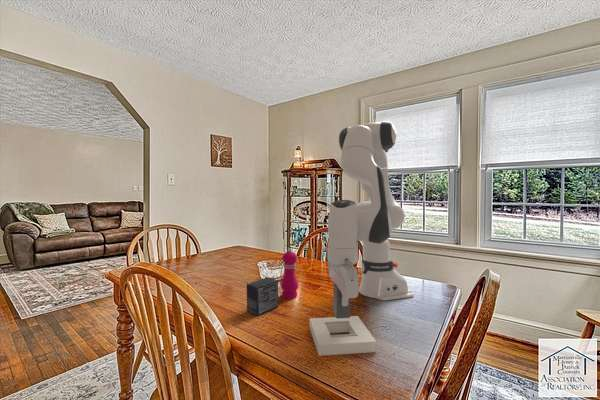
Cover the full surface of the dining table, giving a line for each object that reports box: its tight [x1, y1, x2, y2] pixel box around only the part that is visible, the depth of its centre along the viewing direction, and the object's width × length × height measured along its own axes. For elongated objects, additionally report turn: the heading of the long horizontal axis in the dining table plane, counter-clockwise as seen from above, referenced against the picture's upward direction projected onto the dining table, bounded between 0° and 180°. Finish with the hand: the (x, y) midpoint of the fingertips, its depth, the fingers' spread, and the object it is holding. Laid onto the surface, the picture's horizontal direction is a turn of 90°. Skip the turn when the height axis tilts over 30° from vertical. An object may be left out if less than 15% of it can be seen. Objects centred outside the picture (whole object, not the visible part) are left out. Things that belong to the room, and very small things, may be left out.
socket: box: [309, 315, 377, 357], centre depth 88 cm, size 16×16×3 cm
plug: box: [332, 282, 351, 318], centre depth 88 cm, size 4×4×9 cm
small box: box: [246, 277, 279, 317], centre depth 109 cm, size 11×6×10 cm, turn 141°
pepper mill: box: [280, 247, 299, 300], centre depth 122 cm, size 7×7×20 cm
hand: (341, 301), depth 88 cm, fingers closed on plug, 4 cm apart
